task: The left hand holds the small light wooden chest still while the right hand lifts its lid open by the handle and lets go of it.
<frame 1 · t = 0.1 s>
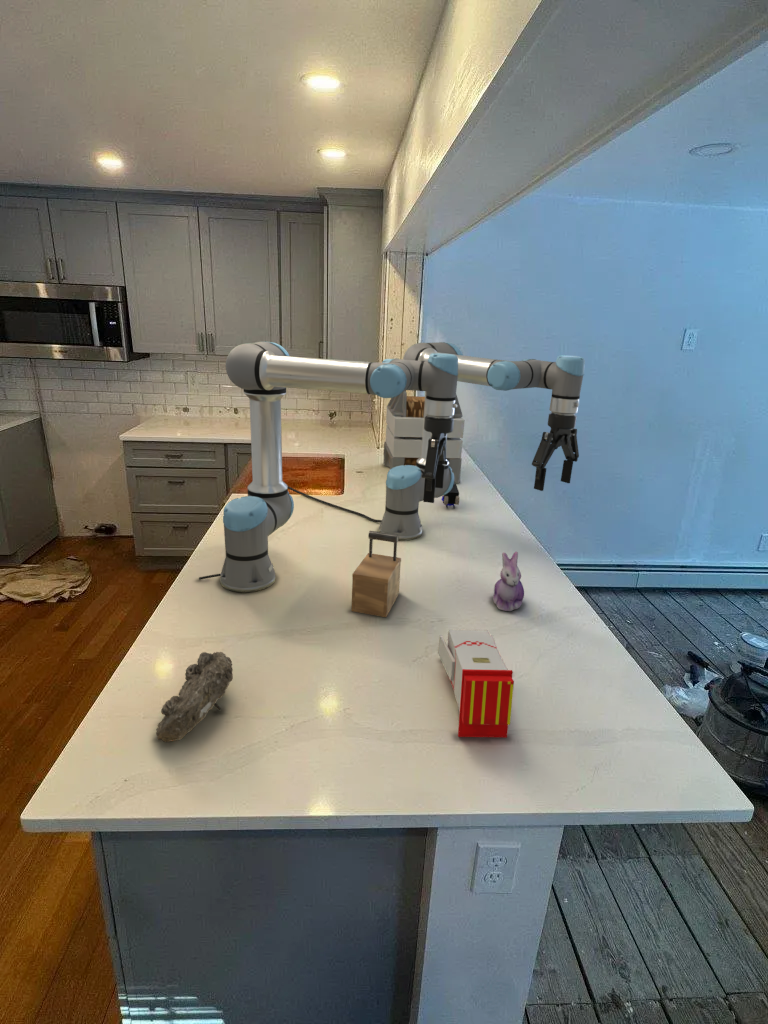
left hand: (433, 494, 153), 28 cm above the counter, tool pointing down, fingers open, 13 cm apart
right hand: (552, 485, 166), 28 cm above the counter, tool pointing down, fingers open, 13 cm apart
lid: (378, 554, 148), point 14 cm above the counter, hinge at 0.0°
white slatted crate: (419, 473, 275), on the counter
figurine: (508, 604, 155), on the counter
fossil: (201, 708, 110), on the counter
figurine character: (449, 504, 232), on the counter
toy: (469, 691, 119), on the counter
chest: (375, 602, 153), on the counter
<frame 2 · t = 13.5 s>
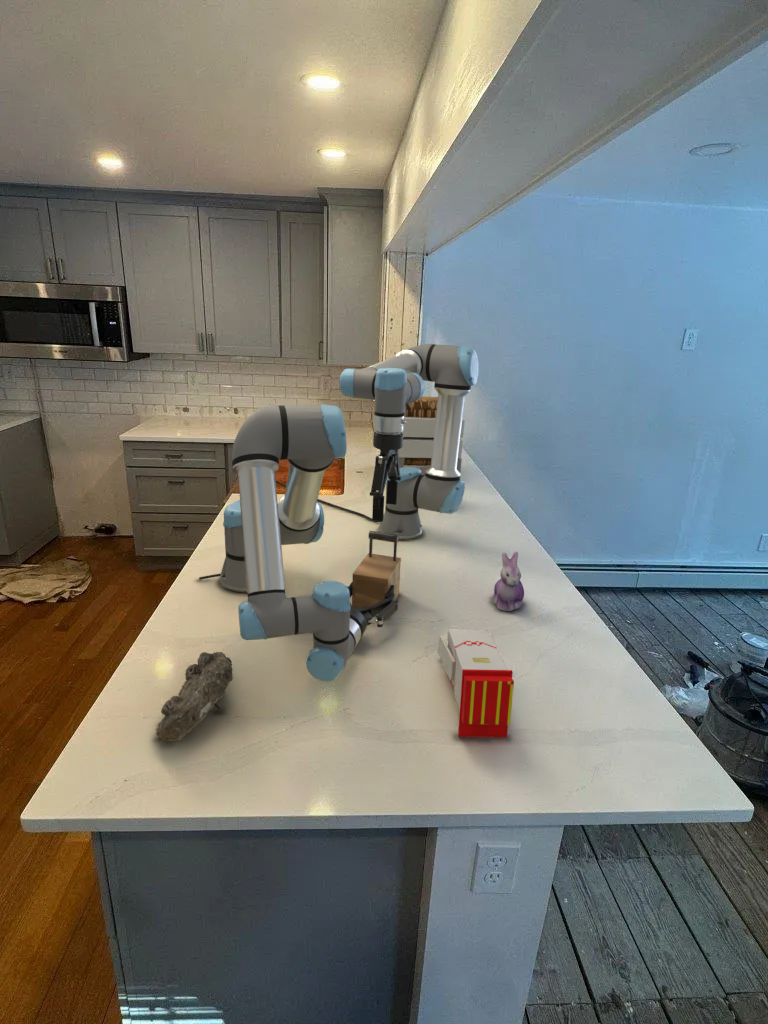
left hand: (373, 586, 148), 6 cm above the counter, tool horizontal, fingers closed on chest, 9 cm apart
right hand: (384, 511, 149), 24 cm above the counter, tool pointing down, fingers open, 13 cm apart
chest: (375, 602, 153), on the counter, touching left hand
everything else where it was.
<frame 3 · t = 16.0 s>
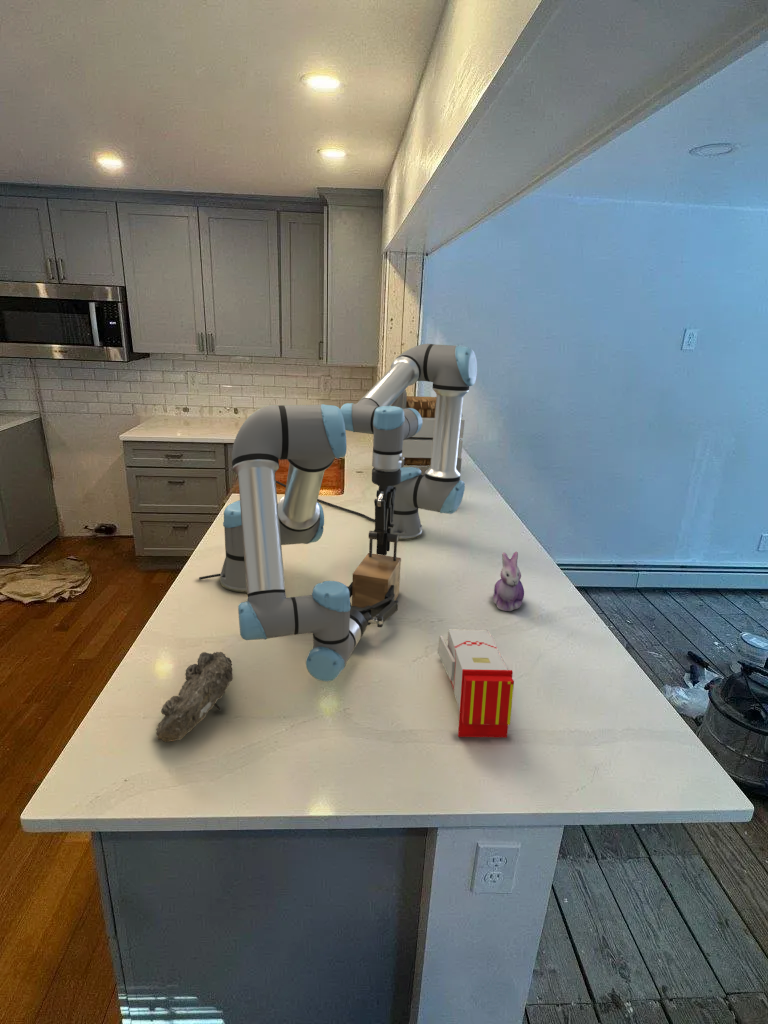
left hand: (373, 586, 148), 6 cm above the counter, tool horizontal, fingers closed on chest, 9 cm apart
right hand: (383, 552, 153), 13 cm above the counter, tool pointing down, fingers closed on lid, 2 cm apart
lid: (378, 554, 148), point 14 cm above the counter, hinge at 0.1°, touching right hand
chest: (375, 602, 153), on the counter, touching left hand
everything else where it was.
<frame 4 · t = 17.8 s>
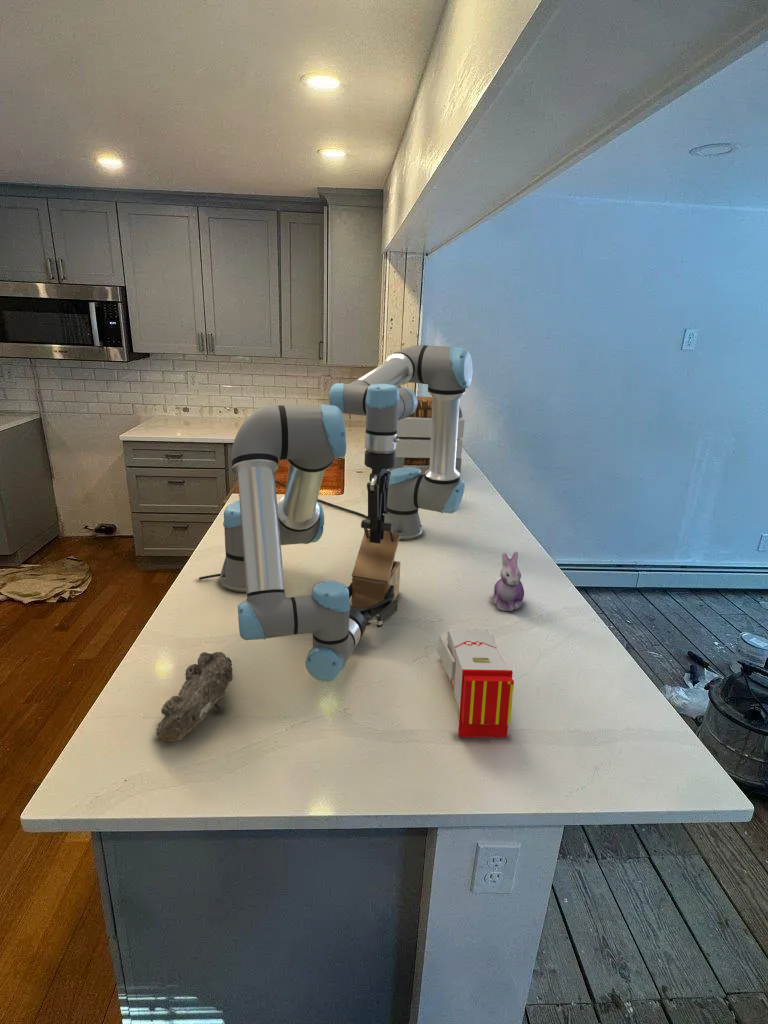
left hand: (373, 587, 148), 6 cm above the counter, tool horizontal, fingers closed on chest, 9 cm apart
right hand: (376, 540, 144), 19 cm above the counter, tool pointing down, fingers closed on lid, 2 cm apart
lid: (374, 548, 143), point 18 cm above the counter, hinge at 36.7°, touching right hand
chest: (375, 601, 153), on the counter, touching left hand
everything else where it was.
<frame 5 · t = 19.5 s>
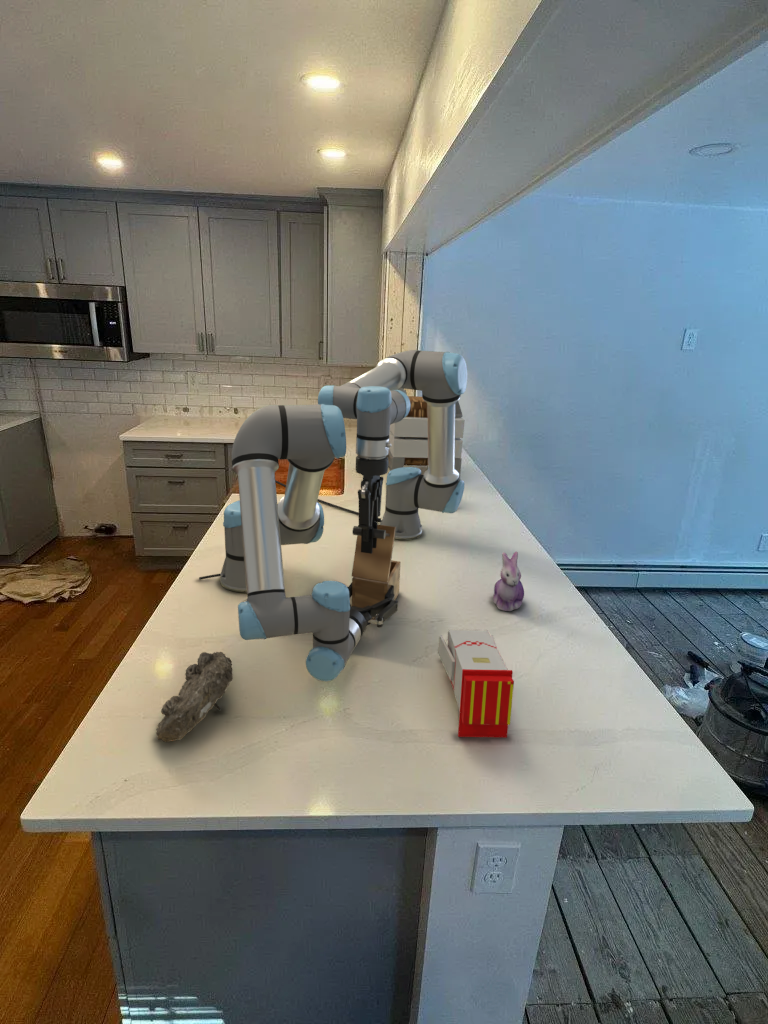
left hand: (373, 586, 148), 6 cm above the counter, tool horizontal, fingers closed on chest, 9 cm apart
right hand: (368, 549, 138), 19 cm above the counter, tool pointing down, fingers open, 3 cm apart
lid: (369, 551, 140), point 18 cm above the counter, hinge at 66.6°
chest: (376, 601, 153), on the counter, touching left hand
everything else where it was.
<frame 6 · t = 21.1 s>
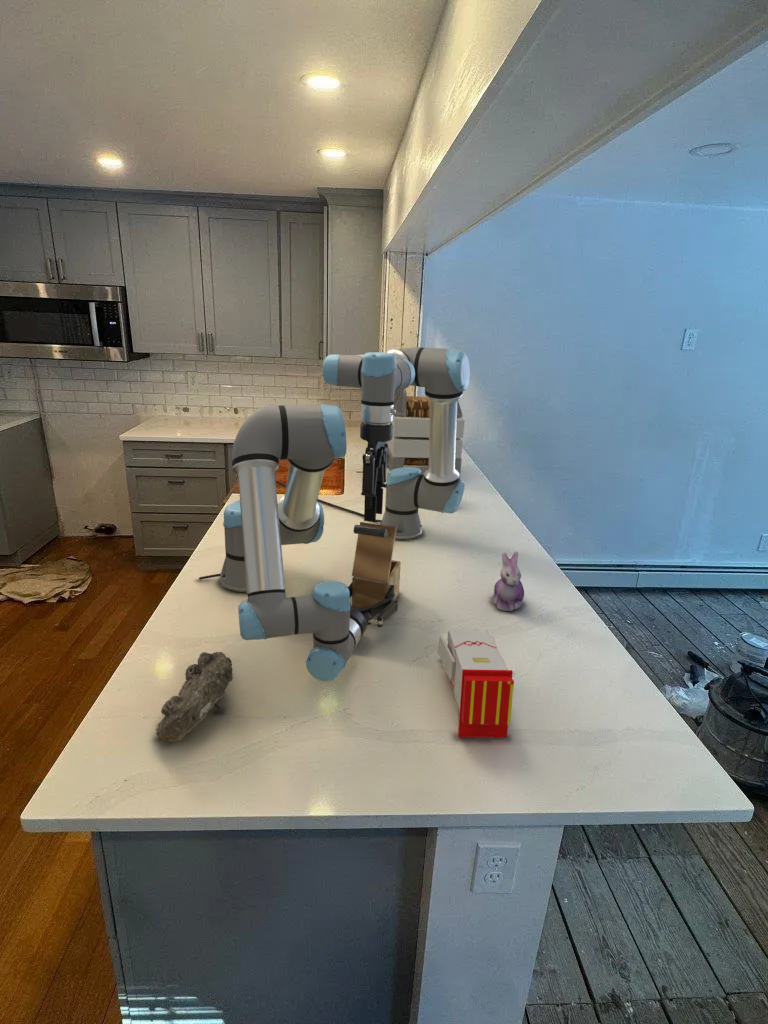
left hand: (373, 586, 148), 6 cm above the counter, tool horizontal, fingers closed on chest, 9 cm apart
right hand: (373, 516, 138), 27 cm above the counter, tool pointing down, fingers open, 5 cm apart
lid: (370, 551, 140), point 18 cm above the counter, hinge at 63.8°
chest: (376, 601, 153), on the counter, touching left hand
everything else where it was.
when the left hand's fingers open (6 cm above the counter, at t = 23.5 s): chest stays where it is, on the counter.
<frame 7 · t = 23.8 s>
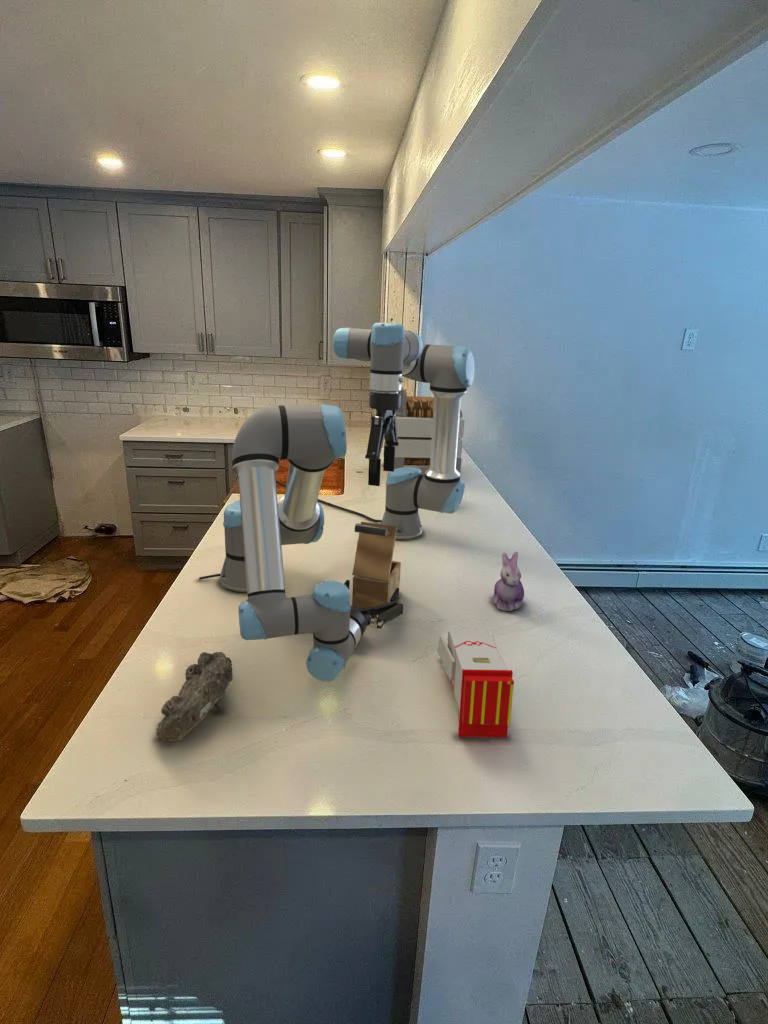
left hand: (372, 588, 147), 6 cm above the counter, tool horizontal, fingers open, 13 cm apart
right hand: (381, 477, 141), 35 cm above the counter, tool pointing down, fingers open, 13 cm apart
lid: (371, 550, 140), point 18 cm above the counter, hinge at 63.3°
chest: (376, 602, 153), on the counter
everything else where it was.
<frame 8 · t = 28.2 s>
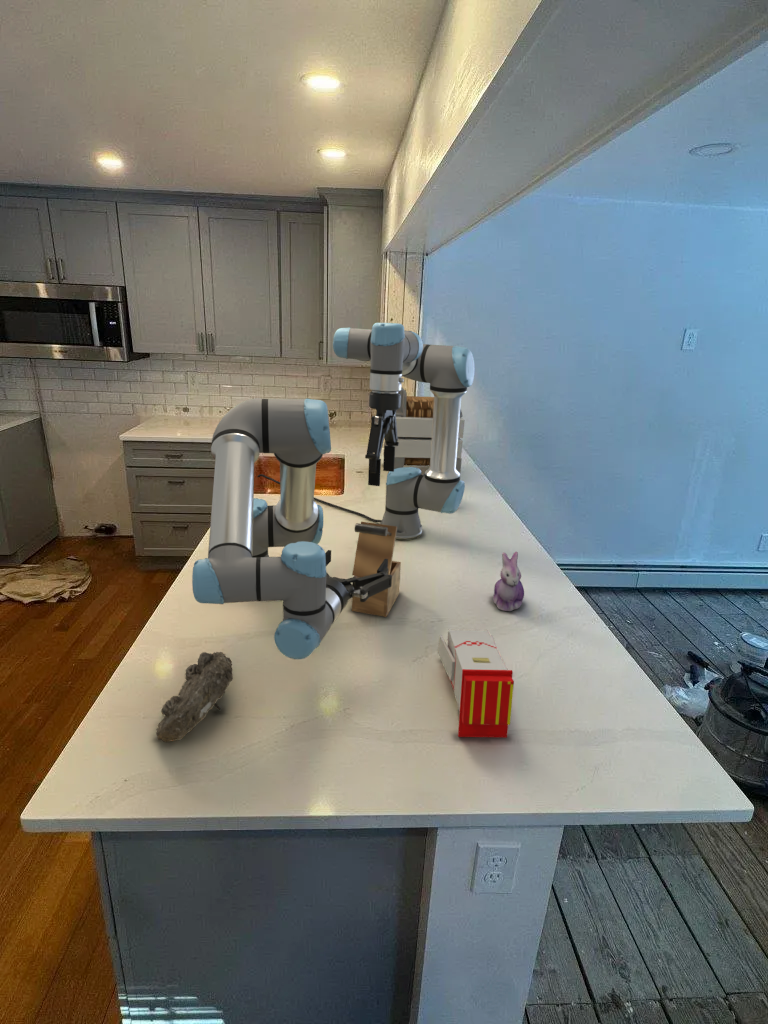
left hand: (357, 559, 130), 20 cm above the counter, tool horizontal, fingers open, 13 cm apart
right hand: (381, 477, 141), 35 cm above the counter, tool pointing down, fingers open, 13 cm apart
nothing on the counter moved.
at the end: lid at +63° (first picture: +0°); the left hand is holding nothing; the right hand is holding nothing; chest tilted 0°; chest never tilted more than 2° during the clip; chest moved 0.2 cm from its start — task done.
